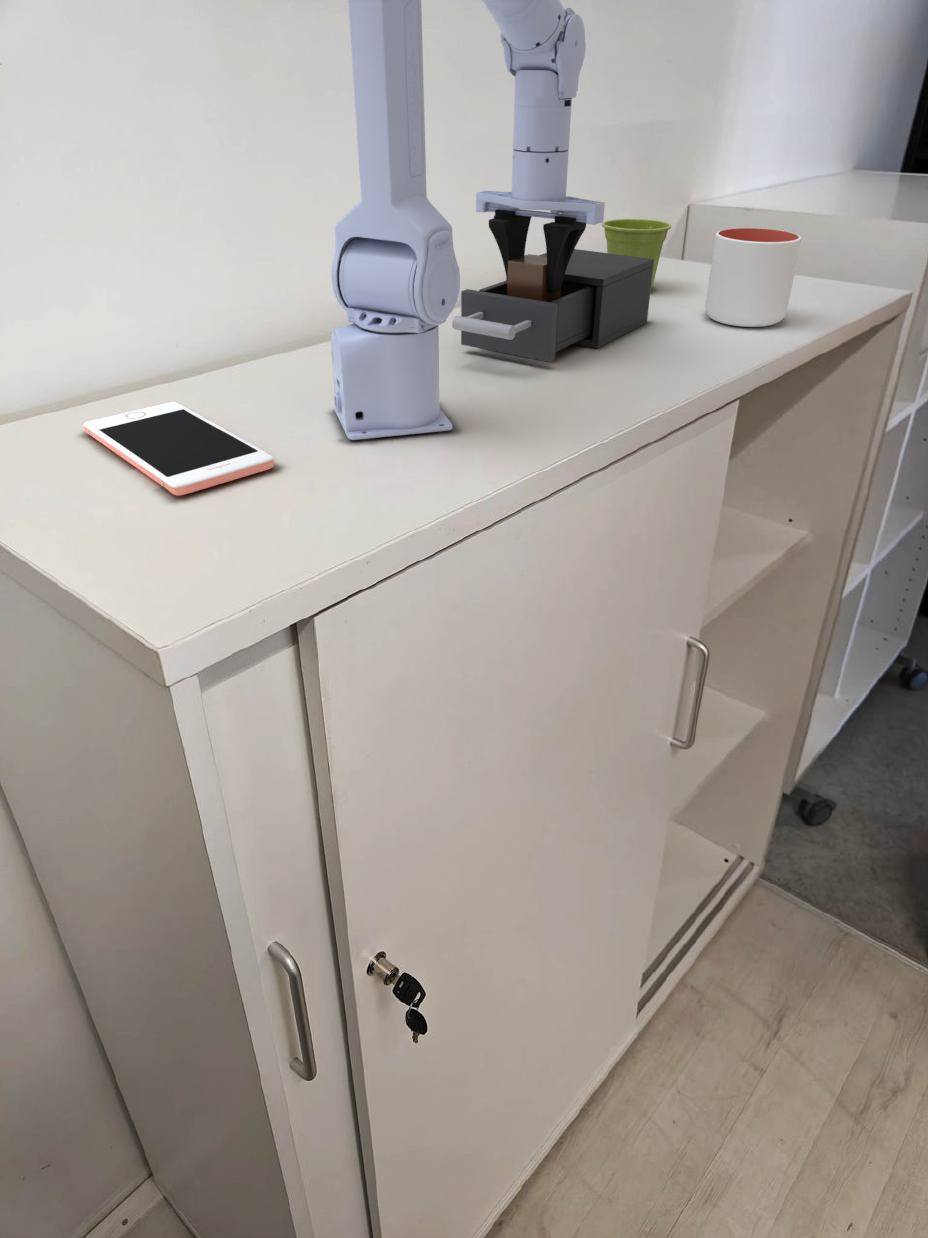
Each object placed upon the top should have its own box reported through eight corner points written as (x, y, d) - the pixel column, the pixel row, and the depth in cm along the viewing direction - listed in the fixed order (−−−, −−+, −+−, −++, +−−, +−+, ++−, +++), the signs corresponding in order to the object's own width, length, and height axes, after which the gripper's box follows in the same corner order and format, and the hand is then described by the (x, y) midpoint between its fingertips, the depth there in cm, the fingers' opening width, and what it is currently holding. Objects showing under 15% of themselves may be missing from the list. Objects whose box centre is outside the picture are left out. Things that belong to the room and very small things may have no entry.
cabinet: (597, 348, 102) (603, 279, 97) (504, 331, 107) (506, 265, 103) (647, 323, 111) (654, 258, 107) (558, 308, 117) (562, 247, 113)
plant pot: (586, 284, 129) (591, 219, 124) (644, 280, 131) (651, 216, 127) (614, 298, 121) (620, 230, 117) (675, 294, 124) (684, 227, 119)
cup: (788, 331, 108) (806, 244, 102) (704, 327, 109) (717, 240, 104) (780, 311, 116) (796, 229, 111) (702, 307, 118) (714, 226, 112)
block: (541, 308, 96) (543, 265, 94) (506, 302, 98) (507, 260, 96) (560, 300, 99) (563, 258, 97) (526, 294, 101) (528, 253, 99)
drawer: (525, 373, 91) (528, 315, 88) (435, 355, 96) (434, 299, 93) (602, 335, 103) (607, 283, 100) (518, 320, 108) (520, 270, 105)
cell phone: (176, 410, 84) (174, 400, 83) (277, 467, 72) (275, 457, 72) (83, 432, 79) (81, 422, 78) (176, 498, 67) (174, 486, 67)
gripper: (622, 150, 90) (609, 289, 97) (501, 142, 97) (498, 273, 104) (590, 156, 85) (579, 302, 92) (465, 147, 92) (464, 284, 99)
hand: (534, 288), depth 98 cm, fingers closed on block, 4 cm apart
